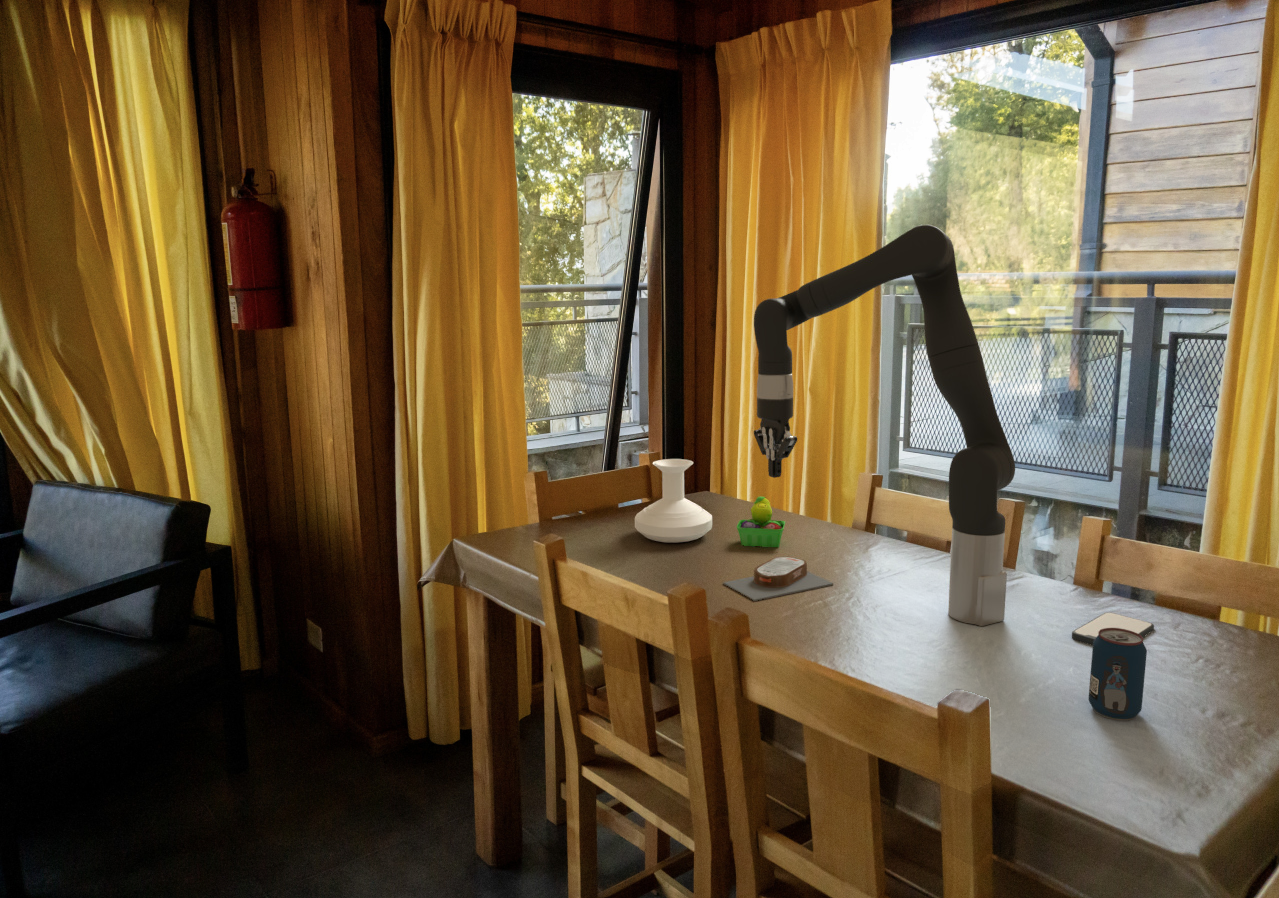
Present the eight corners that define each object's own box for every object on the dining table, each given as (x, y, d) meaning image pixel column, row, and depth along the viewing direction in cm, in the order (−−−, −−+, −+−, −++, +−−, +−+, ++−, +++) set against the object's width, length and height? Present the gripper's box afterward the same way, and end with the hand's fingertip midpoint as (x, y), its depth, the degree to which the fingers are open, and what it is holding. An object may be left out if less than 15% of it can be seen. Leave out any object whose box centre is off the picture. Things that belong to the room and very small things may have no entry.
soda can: (1123, 699, 133) (1130, 625, 131) (1151, 722, 126) (1158, 643, 124) (1078, 701, 133) (1084, 626, 131) (1104, 723, 126) (1110, 645, 124)
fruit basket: (736, 547, 214) (736, 502, 211) (740, 537, 222) (740, 493, 220) (783, 549, 211) (783, 504, 209) (785, 539, 219) (786, 495, 217)
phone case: (1105, 618, 166) (1068, 640, 156) (1106, 610, 166) (1069, 631, 156) (1156, 632, 160) (1121, 655, 149) (1157, 623, 159) (1121, 646, 149)
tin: (746, 582, 187) (781, 593, 182) (747, 568, 186) (782, 578, 181) (779, 564, 198) (813, 573, 194) (780, 551, 198) (814, 560, 193)
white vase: (622, 532, 228) (620, 460, 225) (689, 522, 237) (689, 452, 233) (655, 552, 211) (654, 474, 207) (727, 541, 219) (727, 465, 215)
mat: (833, 584, 186) (833, 583, 185) (754, 601, 177) (754, 599, 177) (799, 569, 196) (799, 567, 196) (723, 584, 188) (723, 582, 187)
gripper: (809, 397, 178) (808, 480, 181) (771, 391, 189) (771, 469, 193) (779, 400, 174) (778, 484, 178) (742, 393, 186) (742, 473, 189)
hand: (774, 476), depth 185 cm, fingers closed
